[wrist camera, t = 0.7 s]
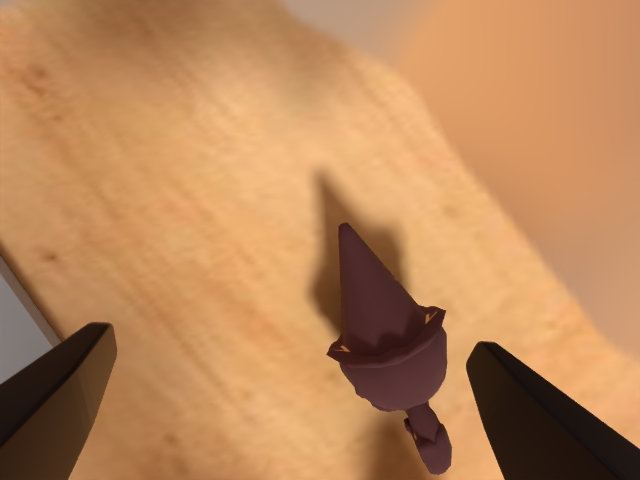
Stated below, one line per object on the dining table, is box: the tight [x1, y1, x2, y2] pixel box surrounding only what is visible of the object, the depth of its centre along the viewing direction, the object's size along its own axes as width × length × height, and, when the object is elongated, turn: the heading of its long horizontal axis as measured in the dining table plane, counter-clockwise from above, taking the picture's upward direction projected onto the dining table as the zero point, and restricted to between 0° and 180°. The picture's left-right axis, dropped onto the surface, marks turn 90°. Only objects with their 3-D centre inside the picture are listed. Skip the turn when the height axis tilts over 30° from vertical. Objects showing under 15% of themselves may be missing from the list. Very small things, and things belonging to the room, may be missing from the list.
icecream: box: [327, 223, 452, 475], centre depth 21 cm, size 7×7×15 cm
